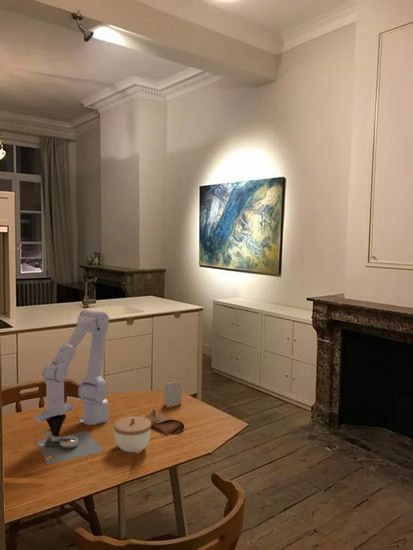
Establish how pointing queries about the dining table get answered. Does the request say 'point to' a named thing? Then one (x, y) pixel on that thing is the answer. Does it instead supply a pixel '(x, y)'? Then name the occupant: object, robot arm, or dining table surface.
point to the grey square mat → (57, 454)
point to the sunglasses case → (164, 423)
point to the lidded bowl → (132, 433)
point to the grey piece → (62, 441)
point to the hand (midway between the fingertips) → (55, 435)
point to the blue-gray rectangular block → (172, 394)
